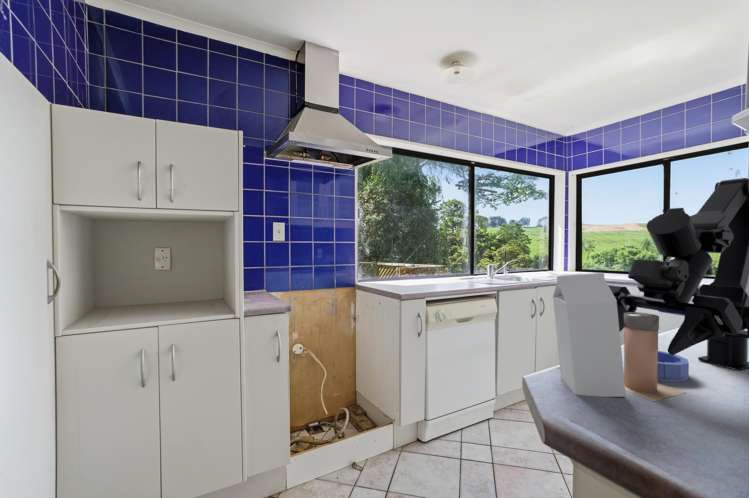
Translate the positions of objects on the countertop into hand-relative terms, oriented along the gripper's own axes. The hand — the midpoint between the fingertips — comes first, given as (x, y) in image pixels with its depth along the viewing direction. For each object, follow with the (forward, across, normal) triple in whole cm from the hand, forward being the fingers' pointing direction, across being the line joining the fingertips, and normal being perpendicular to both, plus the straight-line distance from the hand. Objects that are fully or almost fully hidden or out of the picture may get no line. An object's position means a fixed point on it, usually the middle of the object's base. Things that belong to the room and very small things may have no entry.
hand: (637, 344), depth 56 cm
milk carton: (+10, -3, +1) cm, 10 cm away
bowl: (-2, -4, +13) cm, 14 cm away
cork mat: (+4, 0, +6) cm, 8 cm away
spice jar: (+4, 0, +6) cm, 7 cm away
